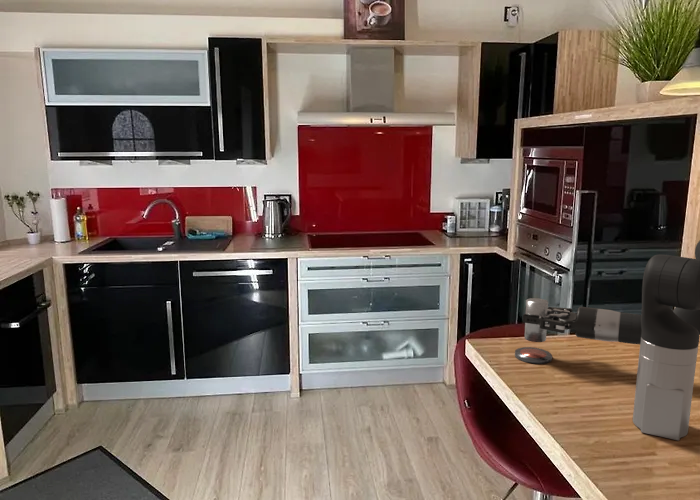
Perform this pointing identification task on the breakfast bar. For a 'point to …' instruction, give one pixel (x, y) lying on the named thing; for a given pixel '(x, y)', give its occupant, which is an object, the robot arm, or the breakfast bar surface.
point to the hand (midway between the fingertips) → (525, 314)
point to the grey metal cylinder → (533, 330)
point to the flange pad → (533, 355)
